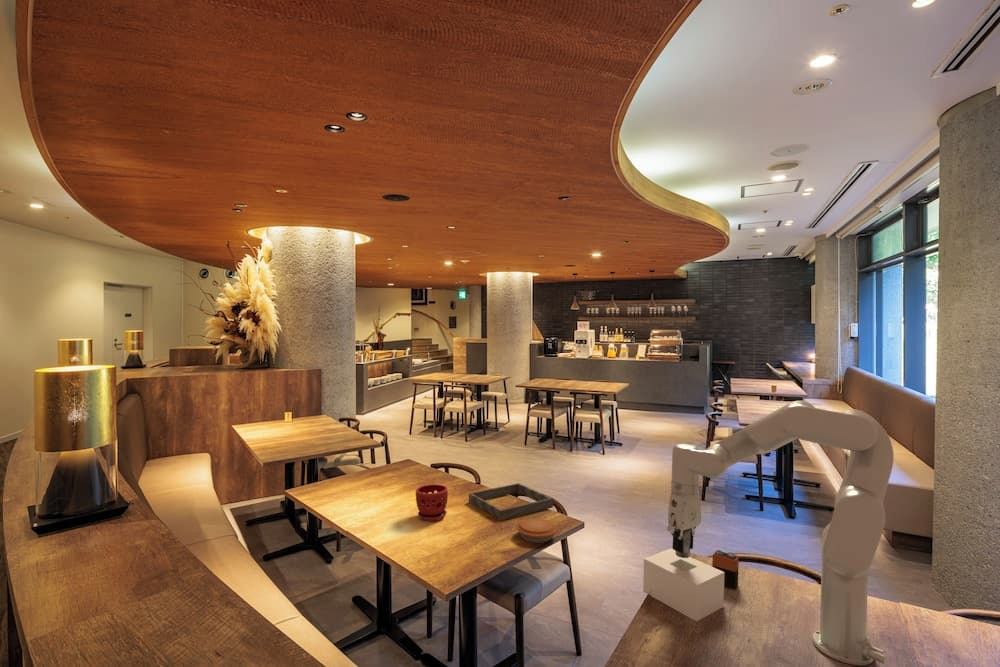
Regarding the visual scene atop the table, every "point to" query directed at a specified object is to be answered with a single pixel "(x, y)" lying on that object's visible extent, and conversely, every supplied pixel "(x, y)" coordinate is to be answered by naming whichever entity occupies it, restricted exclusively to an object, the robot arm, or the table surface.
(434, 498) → the plant pot
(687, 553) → the peg
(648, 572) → the socket block
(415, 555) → the table surface
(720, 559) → the battery
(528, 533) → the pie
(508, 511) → the open rectangular frame
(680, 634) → the table surface
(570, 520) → the table surface
